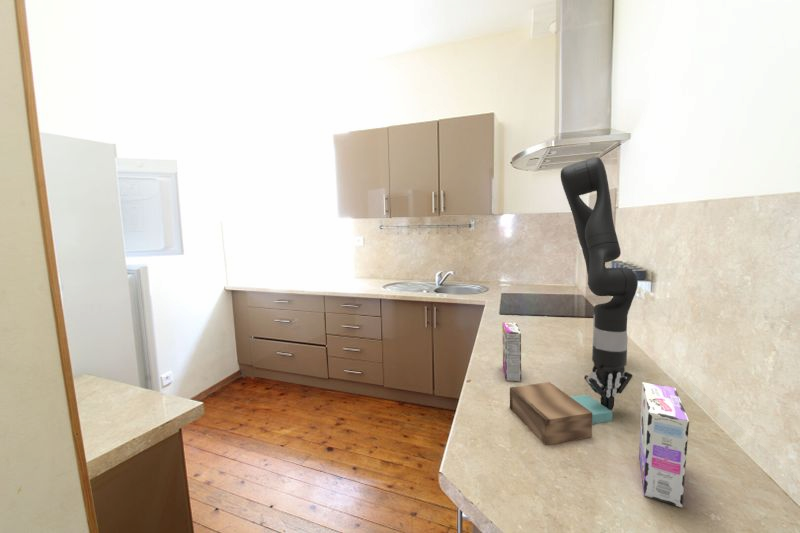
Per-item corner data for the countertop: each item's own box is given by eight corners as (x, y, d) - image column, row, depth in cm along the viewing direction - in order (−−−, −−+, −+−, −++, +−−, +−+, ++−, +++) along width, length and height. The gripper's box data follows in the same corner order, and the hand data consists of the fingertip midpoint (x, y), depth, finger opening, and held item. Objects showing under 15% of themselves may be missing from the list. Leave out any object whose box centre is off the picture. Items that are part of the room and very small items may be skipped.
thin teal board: (586, 404, 94) (587, 393, 93) (612, 422, 85) (612, 410, 85) (533, 411, 91) (534, 400, 91) (554, 430, 82) (554, 418, 82)
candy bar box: (501, 367, 119) (501, 321, 117) (516, 367, 118) (516, 322, 116) (505, 381, 108) (505, 331, 106) (521, 382, 107) (521, 332, 105)
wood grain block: (549, 402, 95) (549, 382, 94) (591, 436, 79) (592, 412, 78) (509, 408, 92) (509, 387, 92) (545, 444, 77) (545, 420, 76)
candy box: (684, 509, 58) (690, 421, 56) (642, 496, 62) (647, 411, 60) (672, 461, 70) (677, 386, 68) (637, 452, 73) (641, 380, 71)
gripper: (619, 337, 91) (616, 398, 93) (576, 342, 89) (574, 404, 91) (644, 347, 84) (641, 412, 86) (598, 353, 81) (596, 420, 84)
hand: (607, 408), depth 88 cm, fingers closed
